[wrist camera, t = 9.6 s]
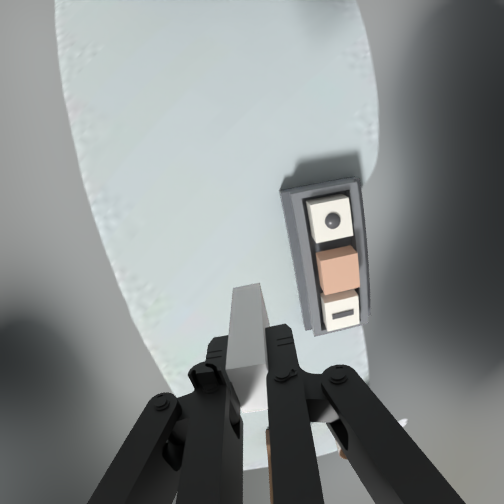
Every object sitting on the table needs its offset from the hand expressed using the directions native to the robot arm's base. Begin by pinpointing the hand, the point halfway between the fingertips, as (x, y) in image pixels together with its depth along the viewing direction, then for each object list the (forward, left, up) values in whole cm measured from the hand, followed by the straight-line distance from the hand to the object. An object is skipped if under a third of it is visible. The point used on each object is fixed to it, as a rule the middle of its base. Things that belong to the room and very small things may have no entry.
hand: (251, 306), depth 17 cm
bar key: (+7, +18, -24) cm, 31 cm away
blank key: (+1, +14, -23) cm, 27 cm away
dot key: (-4, +9, -24) cm, 26 cm away
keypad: (+1, +14, -26) cm, 30 cm away
